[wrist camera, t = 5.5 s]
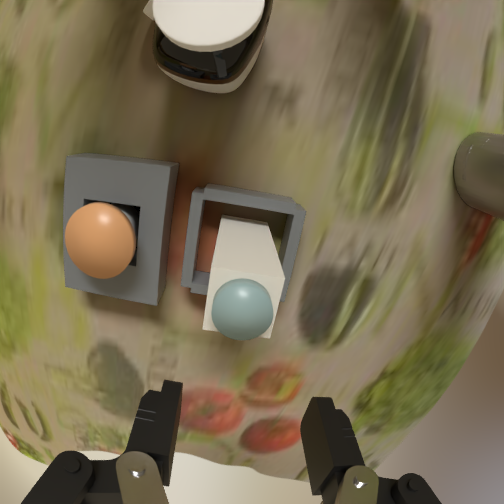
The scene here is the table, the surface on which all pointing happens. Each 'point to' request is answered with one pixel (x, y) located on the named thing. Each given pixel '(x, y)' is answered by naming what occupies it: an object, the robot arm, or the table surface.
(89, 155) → the socket blocks
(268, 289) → the square rod with knob
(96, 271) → the tan mushroom peg
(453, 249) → the table surface
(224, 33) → the spread jar
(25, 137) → the table surface
